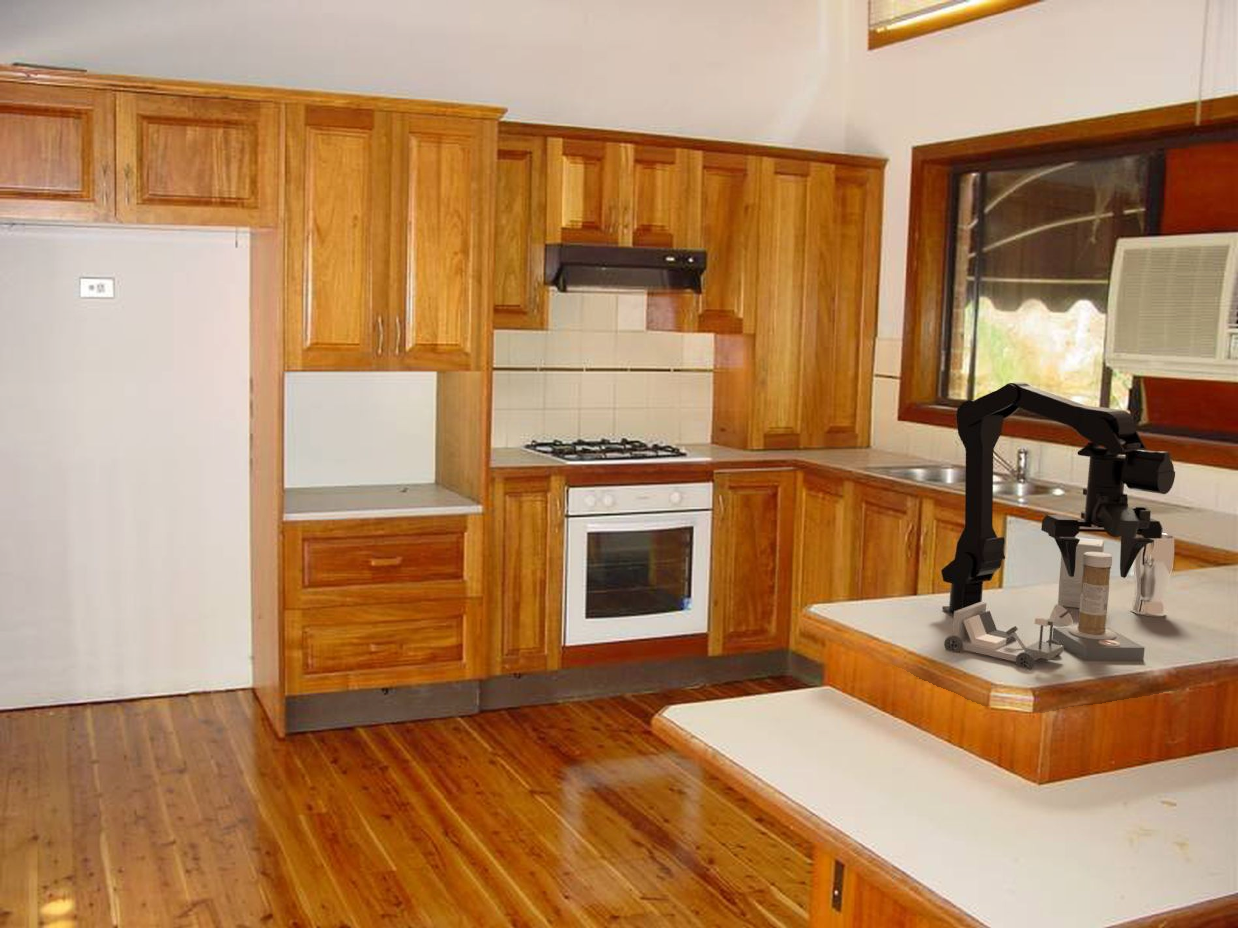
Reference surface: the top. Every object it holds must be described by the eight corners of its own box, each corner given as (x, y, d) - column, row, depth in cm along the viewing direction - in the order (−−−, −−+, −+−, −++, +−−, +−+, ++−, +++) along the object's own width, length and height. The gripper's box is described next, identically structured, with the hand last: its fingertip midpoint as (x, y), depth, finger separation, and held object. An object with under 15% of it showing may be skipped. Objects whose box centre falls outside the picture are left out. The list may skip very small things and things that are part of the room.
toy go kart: (1082, 603, 203) (1054, 616, 195) (1077, 662, 205) (1048, 677, 196) (978, 583, 215) (947, 594, 206) (974, 639, 216) (943, 652, 208)
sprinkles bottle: (1086, 626, 216) (1092, 549, 214) (1111, 632, 212) (1117, 554, 210) (1071, 630, 213) (1078, 552, 211) (1096, 636, 209) (1103, 557, 207)
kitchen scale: (1052, 639, 216) (1053, 625, 216) (1107, 640, 217) (1108, 625, 217) (1085, 660, 204) (1086, 644, 204) (1143, 660, 205) (1144, 645, 205)
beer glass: (1128, 614, 236) (1135, 536, 234) (1128, 606, 242) (1135, 530, 240) (1168, 619, 233) (1176, 540, 231) (1167, 610, 240) (1175, 534, 238)
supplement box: (1100, 603, 244) (1105, 539, 243) (1097, 611, 238) (1102, 545, 236) (1060, 597, 247) (1065, 535, 246) (1056, 605, 241) (1061, 541, 239)
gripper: (1074, 492, 200) (1066, 587, 202) (1185, 494, 202) (1175, 588, 204) (1043, 481, 211) (1036, 572, 213) (1148, 483, 213) (1140, 573, 215)
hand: (1097, 576), depth 211 cm, fingers open, 9 cm apart
